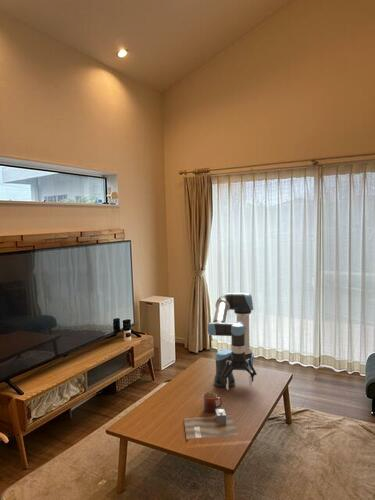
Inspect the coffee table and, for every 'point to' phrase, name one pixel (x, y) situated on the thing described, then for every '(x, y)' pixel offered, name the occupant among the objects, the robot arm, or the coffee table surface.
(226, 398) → the coffee table surface
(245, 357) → the robot arm
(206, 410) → the mug
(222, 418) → the block
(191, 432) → the board
